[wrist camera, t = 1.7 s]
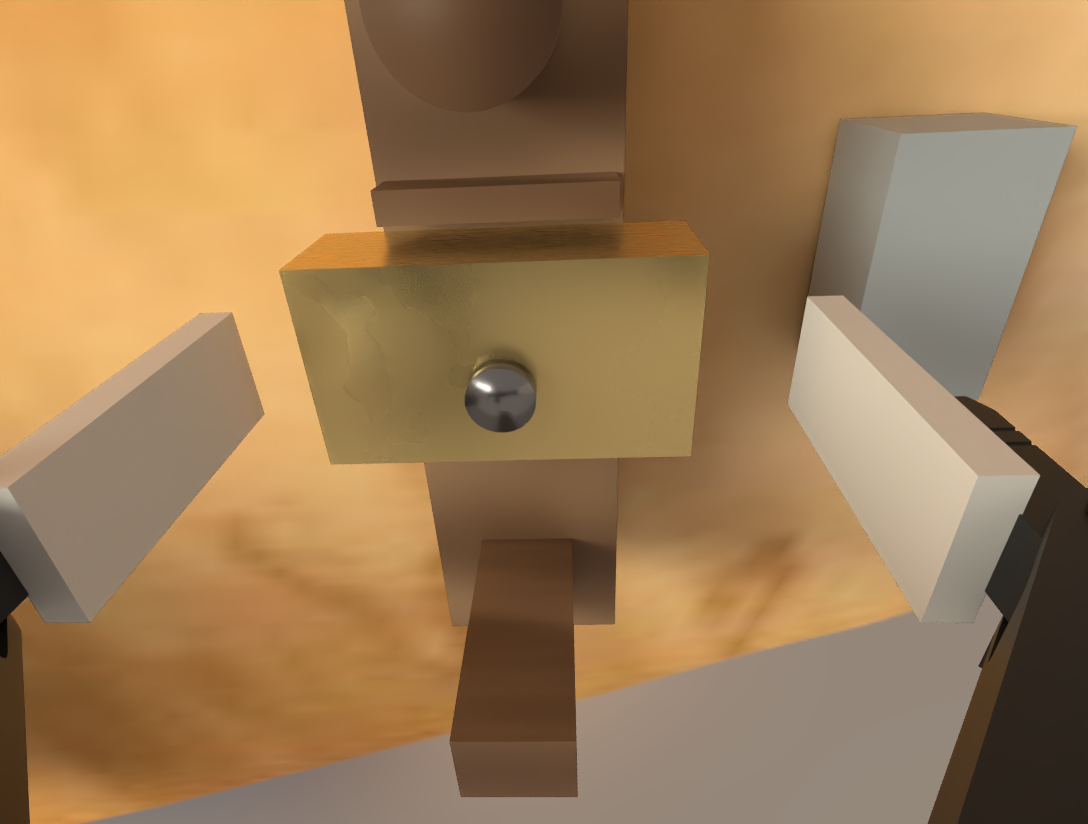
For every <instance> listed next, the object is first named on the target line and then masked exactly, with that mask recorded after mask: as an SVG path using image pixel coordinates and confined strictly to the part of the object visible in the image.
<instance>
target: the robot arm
mask: <svg viewBox="0 0 1088 824" xmlns="http://www.w3.org/2000/svg"><path fill="white" fill-rule="evenodd" d="M788 406H789V407H790V409H791V411H792V412H793V414H794V415H795V417H796V419H797V420H798V422H799V424H800V425H801V427H802V429H803V430H804V432H805V434H806V435H807V437H808V439H809V440H810V442H811V443H812V445H813V447H814V448H815V450H816V452H817V453H818V455H819V457H820V458H821V460H822V462H823V463H824V465H825V467H826V468H827V470H828V471H829V473H830V475H831V476H832V478H833V480H834V481H835V483H836V485H837V486H838V488H839V490H840V491H841V493H842V494H843V496H844V498H845V499H846V501H847V503H848V504H849V506H850V508H851V509H852V511H853V513H854V514H855V516H856V518H857V519H858V521H859V522H860V524H861V526H862V527H863V529H864V531H865V532H866V534H867V536H868V537H869V539H870V541H871V542H872V544H873V546H874V547H875V549H876V550H877V552H878V554H879V555H880V557H881V559H882V560H883V562H884V564H885V565H886V567H887V569H888V570H889V572H890V574H891V575H892V577H893V578H894V580H895V582H896V583H897V585H898V587H899V588H900V590H901V592H902V593H903V595H904V597H905V598H906V600H907V602H908V603H909V605H910V606H911V608H912V610H913V611H914V613H915V615H916V616H917V618H918V620H919V621H920V623H973V622H974V620H975V618H976V616H977V614H978V611H979V609H980V607H981V605H982V602H983V600H984V598H985V596H986V594H987V595H988V596H989V597H990V599H991V600H992V601H993V602H994V604H995V605H996V606H997V608H998V609H999V610H1000V612H1001V613H1002V614H1003V617H1002V619H1001V621H1000V623H999V625H998V627H997V629H996V631H995V633H994V635H993V637H992V639H991V642H990V644H989V646H988V648H987V650H986V652H985V654H984V656H983V658H982V660H981V662H980V664H979V667H981V668H982V671H981V673H980V676H979V679H978V682H977V685H976V688H975V690H974V693H973V696H972V699H971V702H970V705H969V708H968V710H967V713H966V716H965V719H964V722H963V725H962V728H961V730H960V733H959V736H958V739H957V742H956V744H955V747H954V750H953V753H952V756H951V759H950V762H949V764H948V767H947V770H946V773H945V776H944V779H943V782H942V784H941V787H940V790H939V793H938V796H937V799H936V801H935V804H934V807H933V810H932V813H931V816H930V819H929V821H928V824H1088V488H1085V487H1084V486H1083V485H1082V484H1080V483H1079V482H1078V481H1077V480H1076V479H1075V478H1073V477H1072V476H1071V475H1070V474H1069V473H1068V472H1066V471H1065V470H1064V469H1063V468H1062V467H1061V466H1059V465H1058V464H1057V463H1056V462H1055V461H1054V460H1052V459H1051V458H1050V457H1049V456H1048V455H1047V454H1045V453H1044V452H1043V451H1042V450H1041V449H1040V448H1038V447H1037V446H1036V445H1032V444H1031V441H1030V440H1029V439H1028V438H1027V437H1026V436H1024V435H1023V434H1022V433H1021V432H1020V431H1015V427H1014V426H1013V425H1012V424H1010V423H1009V422H1008V421H1007V420H1006V419H1005V418H1003V417H1002V416H1001V415H1000V414H999V413H997V412H996V411H995V410H993V409H991V408H989V407H987V406H985V405H983V404H981V403H979V402H977V401H975V400H973V399H971V398H969V397H967V396H953V395H952V394H950V393H949V392H948V391H947V390H946V389H945V388H944V387H943V386H942V385H941V384H939V383H938V382H937V381H936V380H935V379H934V378H933V377H932V376H931V375H930V374H929V373H927V372H926V371H925V370H924V369H923V368H922V367H921V366H920V365H919V364H918V363H916V362H915V361H914V360H913V359H912V358H911V357H910V356H909V355H908V354H907V353H905V352H904V351H903V350H902V349H901V348H900V347H899V346H898V345H897V344H896V343H895V342H893V341H892V340H891V339H890V338H889V337H888V336H887V335H886V334H885V333H884V332H882V331H881V330H880V329H879V328H878V327H877V326H876V325H875V324H874V323H873V322H871V321H870V320H869V319H868V318H867V317H866V316H865V315H864V314H863V313H862V312H860V311H859V310H858V309H857V308H856V307H855V306H854V305H853V304H852V303H851V302H850V301H848V300H847V299H846V298H845V297H844V296H843V295H841V296H807V302H806V307H805V313H804V318H803V323H802V329H801V334H800V340H799V345H798V351H797V356H796V362H795V367H794V373H793V378H792V384H791V389H790V395H789V400H788ZM263 415H264V411H263V408H262V405H261V401H260V398H259V395H258V392H257V389H256V386H255V383H254V380H253V376H252V373H251V370H250V367H249V364H248V361H247V358H246V355H245V351H244V348H243V345H242V342H241V339H240V336H239V333H238V330H237V326H236V323H235V320H234V317H233V314H232V312H228V313H200V314H199V315H197V316H196V317H194V318H193V319H192V320H190V321H189V322H187V323H186V324H185V325H183V326H182V327H180V328H179V329H178V330H176V331H175V332H173V333H172V334H171V335H169V336H168V337H166V338H165V339H164V340H162V341H161V342H159V343H158V344H157V345H155V346H154V347H152V348H151V349H150V350H148V351H147V352H145V353H144V354H143V355H141V356H140V357H138V358H137V359H136V360H134V361H133V362H131V363H130V364H129V365H127V366H126V367H124V368H123V369H122V370H120V371H119V372H118V373H116V374H115V375H113V376H112V377H111V378H109V379H108V380H106V381H105V382H104V383H102V384H101V385H99V386H98V387H97V388H95V389H94V390H92V391H91V392H90V393H88V394H87V395H85V396H84V397H83V398H81V399H80V400H78V401H77V402H76V403H74V404H73V405H71V406H70V407H69V408H67V409H66V410H64V411H63V412H62V413H60V414H59V415H57V416H56V417H55V418H53V419H52V420H50V421H49V422H48V423H46V424H45V425H43V426H42V427H41V428H39V429H38V430H36V431H35V432H34V433H32V434H31V435H29V436H28V437H27V438H25V439H24V440H23V441H21V442H20V443H18V444H17V445H16V446H14V447H13V448H11V449H10V450H9V451H7V452H6V453H4V454H3V455H2V456H0V824H30V817H29V795H28V773H27V751H26V728H25V706H24V684H23V662H22V639H21V630H20V628H19V626H18V624H17V622H16V621H15V620H14V618H13V617H12V615H11V614H10V613H11V612H12V611H13V610H14V609H15V608H16V607H17V606H18V605H19V604H20V603H21V602H22V601H23V600H24V599H25V598H26V597H27V596H28V598H29V599H30V601H31V602H32V604H33V605H34V607H35V608H36V610H37V611H38V613H39V614H40V616H41V617H42V619H43V620H44V622H53V623H90V622H91V621H92V619H93V618H94V617H95V616H96V615H97V613H98V612H99V611H100V610H101V609H102V607H103V606H104V605H105V604H106V603H107V601H108V600H109V599H110V598H111V597H112V595H113V594H114V593H115V592H116V591H117V590H118V588H119V587H120V586H121V585H122V584H123V582H124V581H125V580H126V579H127V578H128V576H129V575H130V574H131V573H132V572H133V570H134V569H135V568H136V567H137V566H138V564H139V563H140V562H141V561H142V560H143V558H144V557H145V556H146V555H147V554H148V552H149V551H150V550H151V549H152V548H153V547H154V545H155V544H156V543H157V542H158V541H159V539H160V538H161V537H162V536H163V535H164V533H165V532H166V531H167V530H168V529H169V527H170V526H171V525H172V524H173V523H174V521H175V520H176V519H177V518H178V517H179V515H180V514H181V513H182V512H183V511H184V509H185V508H186V507H187V506H188V505H189V504H190V502H191V501H192V500H193V499H194V498H195V496H196V495H197V494H198V493H199V492H200V490H201V489H202V488H203V487H204V486H205V484H206V483H207V482H208V481H209V480H210V478H211V477H212V476H213V475H214V474H215V472H216V471H217V470H218V469H219V468H220V467H221V465H222V464H223V463H224V462H225V461H226V459H227V458H228V457H229V456H230V455H231V453H232V452H233V451H234V450H235V449H236V447H237V446H238V445H239V444H240V443H241V441H242V440H243V439H244V438H245V437H246V435H247V434H248V433H249V432H250V431H251V429H252V428H253V427H254V426H255V425H256V424H257V422H258V421H259V420H260V419H261V418H262V416H263Z"/></svg>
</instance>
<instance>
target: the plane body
mask: <svg viewBox="0 0 1088 824" xmlns="http://www.w3.org/2000/svg"><path fill="white" fill-rule="evenodd" d="M344 2H345V8H346V13H347V19H348V25H349V31H350V36H351V42H352V48H353V54H354V60H355V65H356V71H357V77H358V83H359V88H360V94H361V100H362V106H363V112H364V117H365V123H366V129H367V135H368V140H369V146H370V152H371V158H372V164H373V169H374V175H375V181H376V187H375V188H374V189H373V190H371V196H372V202H373V207H374V213H375V219H376V224H377V227H384V232H388V231H414V230H440V229H466V228H492V227H518V226H544V225H570V224H596V223H622V222H623V213H624V166H625V120H626V73H627V27H628V0H344ZM424 464H425V470H426V476H427V482H428V487H429V493H430V499H431V505H432V511H433V516H434V522H435V528H436V534H437V539H438V545H439V551H440V557H441V563H442V568H443V574H444V580H445V586H446V591H447V597H448V603H449V609H450V615H451V620H452V626H468V630H467V637H466V643H465V649H464V655H463V662H462V668H461V674H460V680H459V687H458V693H457V699H456V705H455V712H454V718H453V724H452V730H451V737H450V746H451V751H452V756H453V761H454V765H455V771H456V775H457V780H458V785H459V790H460V795H461V797H577V796H578V794H577V793H578V791H577V748H576V707H575V662H574V625H594V624H615V585H616V539H617V492H618V458H593V459H549V460H504V461H460V462H424Z"/></svg>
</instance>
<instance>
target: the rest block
mask: <svg viewBox="0 0 1088 824" xmlns="http://www.w3.org/2000/svg"><path fill="white" fill-rule="evenodd" d="M1076 128H1077V126H1072V125H1065V124H1058V123H1051V122H1044V121H1037V120H1031V119H1024V118H1017V117H1010V116H1003V115H996V114H990V113H966V114H944V115H921V116H899V117H877V118H854V119H840V124H839V129H838V135H837V140H836V146H835V151H834V157H833V162H832V168H831V173H830V179H829V184H828V190H827V195H826V201H825V206H824V212H823V217H822V223H821V228H820V234H819V239H818V245H817V250H816V256H815V261H814V267H813V272H812V278H811V283H810V289H809V294H808V296H841V295H843V296H844V297H845V298H846V299H847V300H848V301H850V302H851V303H852V304H853V305H854V306H855V307H856V308H857V309H858V310H859V311H860V312H862V313H863V314H864V315H865V316H866V317H867V318H868V319H869V320H870V321H871V322H873V323H874V324H875V325H876V326H877V327H878V328H879V329H880V330H881V331H882V332H884V333H885V334H886V335H887V336H888V337H889V338H890V339H891V340H892V341H893V342H895V343H896V344H897V345H898V346H899V347H900V348H901V349H902V350H903V351H904V352H905V353H907V354H908V355H909V356H910V357H911V358H912V359H913V360H914V361H915V362H916V363H918V364H919V365H920V366H921V367H922V368H923V369H924V370H925V371H926V372H927V373H929V374H930V375H931V376H932V377H933V378H934V379H935V380H936V381H937V382H938V383H939V384H941V385H942V386H943V387H944V388H945V389H946V390H947V391H948V392H949V393H950V394H952V395H953V396H967V397H969V398H971V399H979V397H980V394H981V391H982V389H983V386H984V383H985V380H986V378H987V375H988V372H989V369H990V366H991V364H992V361H993V358H994V355H995V353H996V350H997V347H998V344H999V341H1000V339H1001V336H1002V333H1003V330H1004V328H1005V325H1006V322H1007V319H1008V317H1009V314H1010V311H1011V308H1012V305H1013V303H1014V300H1015V297H1016V294H1017V292H1018V289H1019V286H1020V283H1021V280H1022V278H1023V275H1024V272H1025V269H1026V267H1027V264H1028V261H1029V258H1030V255H1031V253H1032V250H1033V247H1034V244H1035V242H1036V239H1037V236H1038V233H1039V230H1040V228H1041V225H1042V222H1043V219H1044V217H1045V214H1046V211H1047V208H1048V205H1049V203H1050V200H1051V197H1052V194H1053V192H1054V189H1055V186H1056V183H1057V180H1058V178H1059V175H1060V172H1061V169H1062V167H1063V164H1064V161H1065V158H1066V155H1067V153H1068V150H1069V147H1070V144H1071V142H1072V139H1073V136H1074V133H1075V130H1076Z"/></svg>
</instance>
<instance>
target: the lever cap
mask: <svg viewBox="0 0 1088 824" xmlns="http://www.w3.org/2000/svg"><path fill="white" fill-rule="evenodd" d="M709 257H710V255H709V253H708V252H707V250H706V249H705V248H704V246H703V245H702V244H701V242H700V241H699V240H698V238H697V237H696V235H695V234H694V233H693V231H692V230H691V229H690V227H689V226H688V225H687V223H686V222H685V220H674V221H648V222H622V223H596V224H570V225H544V226H518V227H492V228H466V229H440V230H414V231H388V232H362V233H336V234H325V235H324V236H322V237H321V238H320V239H319V240H317V241H316V242H315V243H313V244H312V245H311V246H310V247H308V248H307V249H306V250H304V251H303V252H302V253H301V254H299V255H298V256H297V257H295V258H294V259H293V260H292V261H290V262H289V263H288V264H287V265H285V266H284V267H283V268H281V269H280V270H279V273H280V276H281V280H282V284H283V288H284V291H285V295H286V299H287V302H288V306H289V310H290V314H291V317H292V321H293V325H294V329H295V332H296V336H297V340H298V344H299V347H300V351H301V355H302V359H303V362H304V366H305V370H306V374H307V377H308V381H309V385H310V389H311V392H312V396H313V400H314V404H315V407H316V411H317V415H318V419H319V422H320V426H321V430H322V433H323V437H324V441H325V445H326V448H327V452H328V456H329V460H330V463H331V464H371V463H416V462H460V461H504V460H549V459H593V458H637V457H681V456H691V449H692V439H693V428H694V417H695V407H696V396H697V385H698V375H699V364H700V353H701V343H702V332H703V321H704V311H705V300H706V289H707V279H708V268H709Z"/></svg>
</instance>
